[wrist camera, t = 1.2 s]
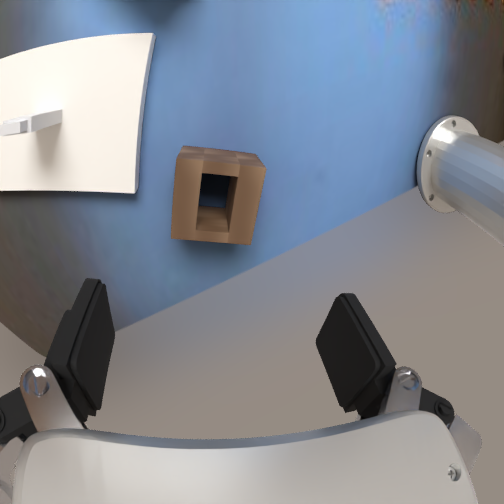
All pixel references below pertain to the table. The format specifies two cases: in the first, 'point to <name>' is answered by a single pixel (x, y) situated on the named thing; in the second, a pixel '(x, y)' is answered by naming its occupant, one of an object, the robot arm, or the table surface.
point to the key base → (74, 114)
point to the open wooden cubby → (237, 203)
